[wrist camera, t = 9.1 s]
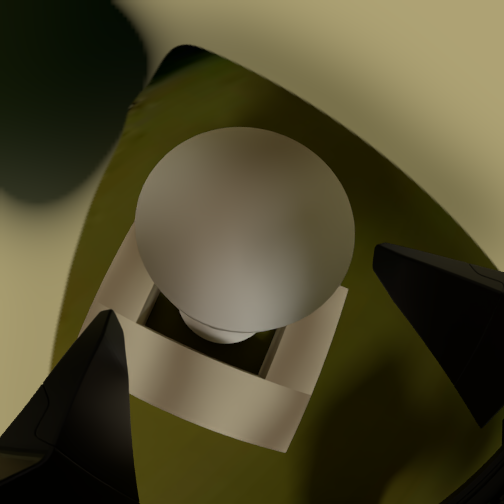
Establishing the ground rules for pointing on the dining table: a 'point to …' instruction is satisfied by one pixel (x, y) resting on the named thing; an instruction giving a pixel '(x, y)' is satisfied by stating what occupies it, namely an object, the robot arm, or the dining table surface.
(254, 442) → the notched board
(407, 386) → the dining table surface
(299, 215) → the bobbin
